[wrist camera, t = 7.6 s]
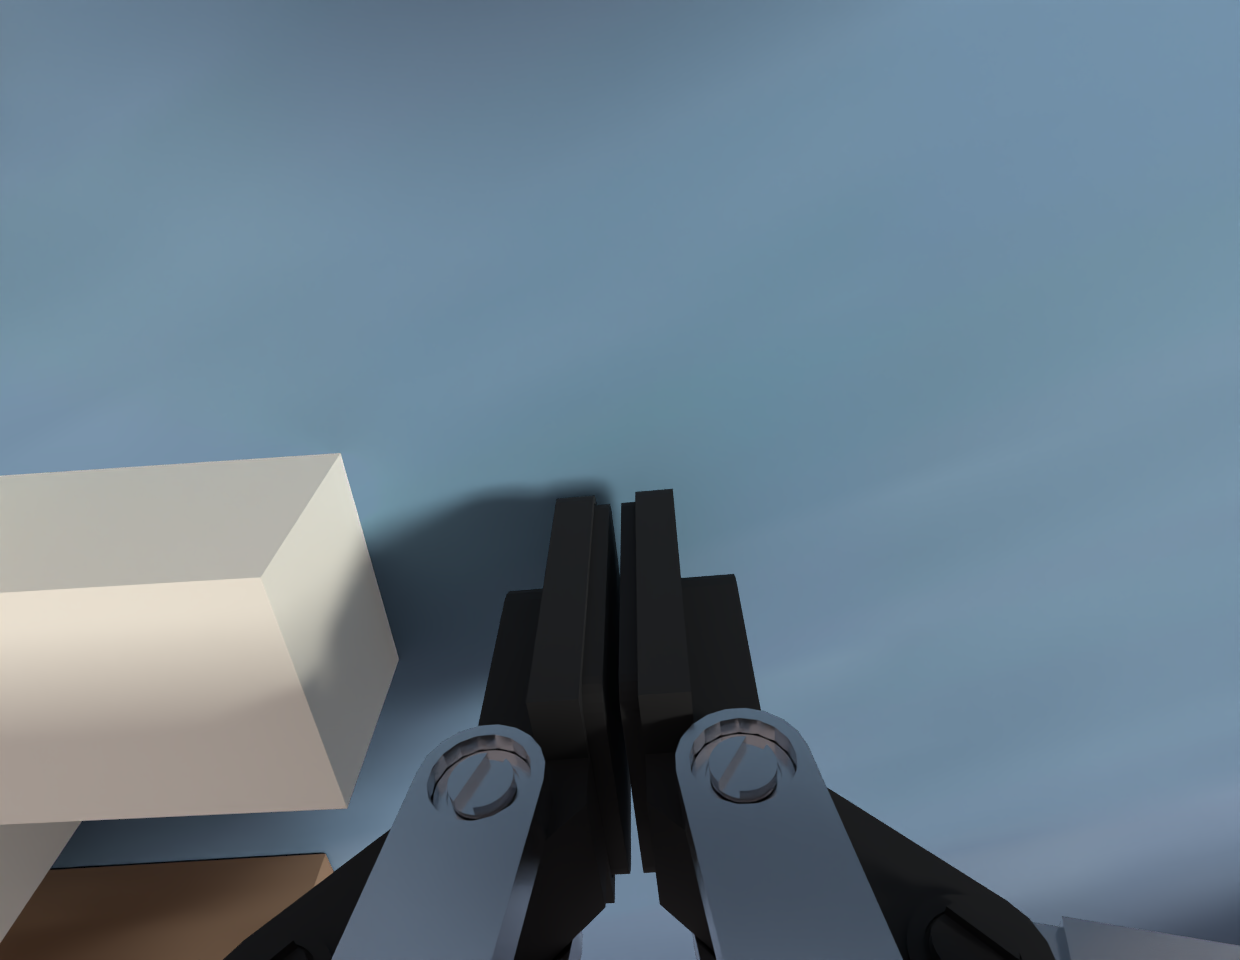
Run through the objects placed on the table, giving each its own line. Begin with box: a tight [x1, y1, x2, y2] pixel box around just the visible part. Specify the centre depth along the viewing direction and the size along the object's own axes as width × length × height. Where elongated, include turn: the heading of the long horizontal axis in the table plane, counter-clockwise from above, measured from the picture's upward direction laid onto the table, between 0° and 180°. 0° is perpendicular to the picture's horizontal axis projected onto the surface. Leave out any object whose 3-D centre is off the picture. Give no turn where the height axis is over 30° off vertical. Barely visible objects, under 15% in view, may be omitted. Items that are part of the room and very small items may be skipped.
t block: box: [0, 453, 399, 943], centre depth 12 cm, size 10×10×3 cm
